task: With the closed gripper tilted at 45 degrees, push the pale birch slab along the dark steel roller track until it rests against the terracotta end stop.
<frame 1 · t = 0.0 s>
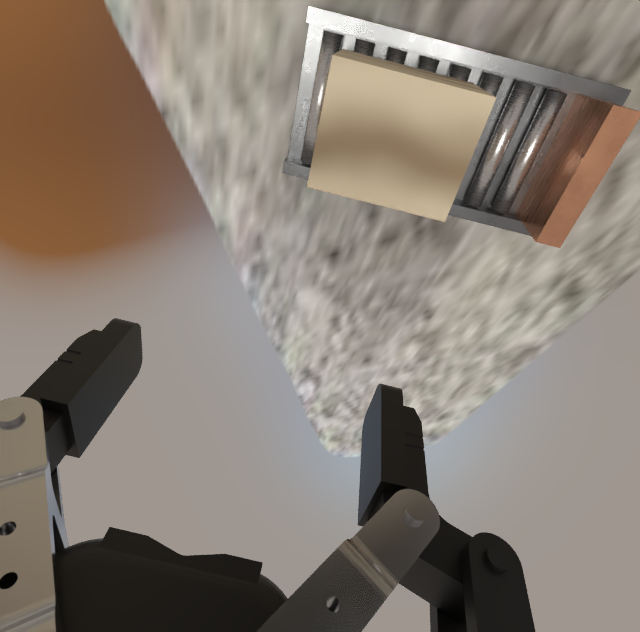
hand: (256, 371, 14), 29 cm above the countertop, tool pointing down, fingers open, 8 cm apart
roller track: (436, 128, 36), on the countertop
birch slab: (392, 133, 30), point 7 cm above the countertop, slide at 0.0 cm
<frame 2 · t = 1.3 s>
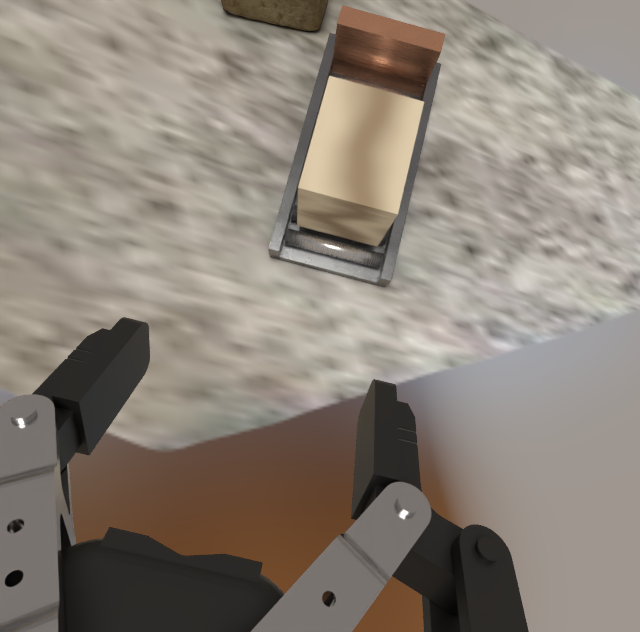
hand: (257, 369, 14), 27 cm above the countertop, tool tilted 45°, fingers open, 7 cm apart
stone block: (276, 7, 47), on the countertop
roller track: (355, 165, 44), on the countertop
birch slab: (355, 168, 37), point 7 cm above the countertop, slide at 0.0 cm
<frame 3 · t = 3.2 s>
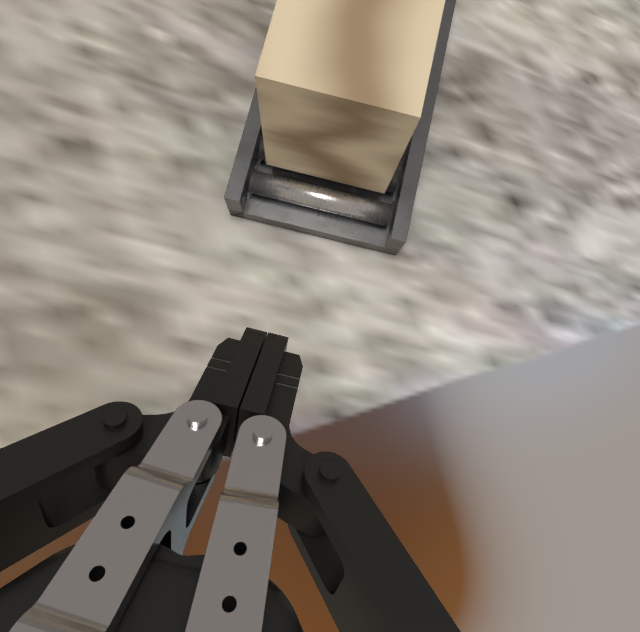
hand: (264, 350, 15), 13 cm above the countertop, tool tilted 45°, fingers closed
roller track: (349, 88, 31), on the countertop
birch slab: (349, 68, 24), point 7 cm above the countertop, slide at 0.0 cm
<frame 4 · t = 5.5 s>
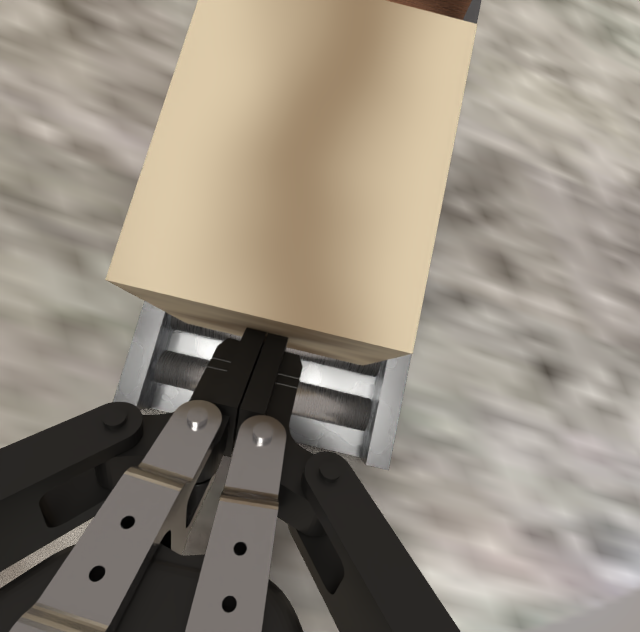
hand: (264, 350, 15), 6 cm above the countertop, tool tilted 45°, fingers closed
roller track: (313, 205, 22), on the countertop
birch slab: (303, 203, 15), point 7 cm above the countertop, slide at 1.1 cm, touching gripper
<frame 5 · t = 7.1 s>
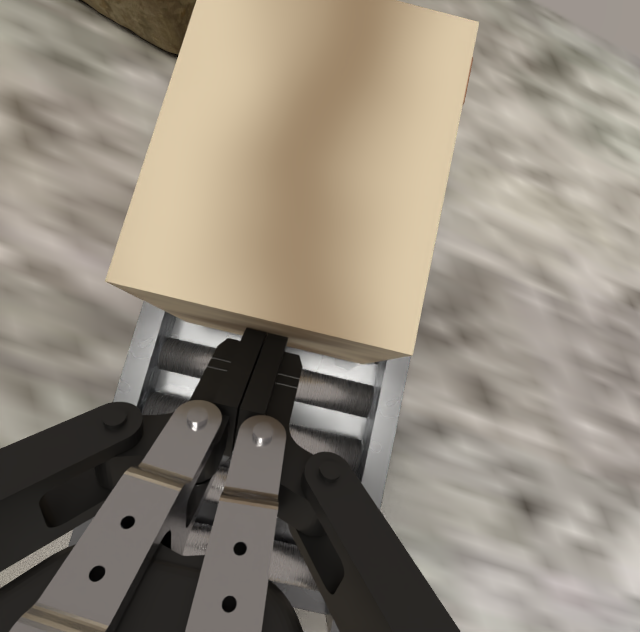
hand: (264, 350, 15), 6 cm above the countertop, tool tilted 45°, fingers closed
roller track: (282, 329, 21), on the countertop
birch slab: (303, 202, 15), point 7 cm above the countertop, slide at 8.0 cm, touching gripper
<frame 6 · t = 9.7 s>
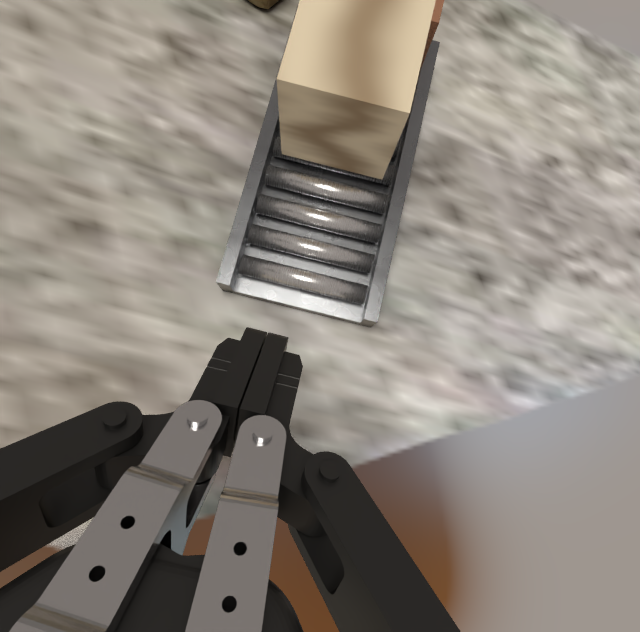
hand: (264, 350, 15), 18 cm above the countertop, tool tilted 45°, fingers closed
roller track: (332, 172, 35), on the countertop
birch slab: (353, 73, 29), point 7 cm above the countertop, slide at 8.0 cm
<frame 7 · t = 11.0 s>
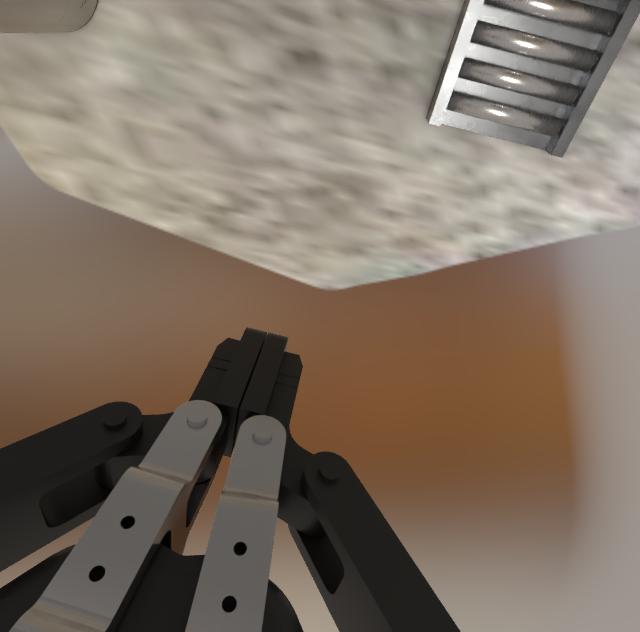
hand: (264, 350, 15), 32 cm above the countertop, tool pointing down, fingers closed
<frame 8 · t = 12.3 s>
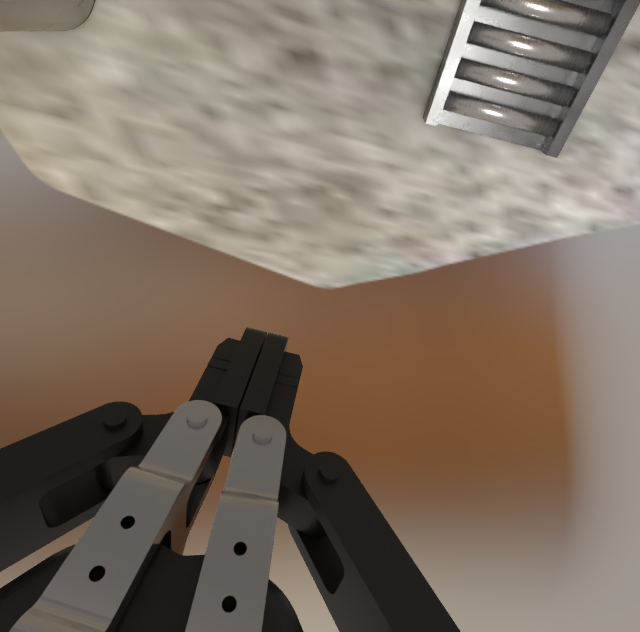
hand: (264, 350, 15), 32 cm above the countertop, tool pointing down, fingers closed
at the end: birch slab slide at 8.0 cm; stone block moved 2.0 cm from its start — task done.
